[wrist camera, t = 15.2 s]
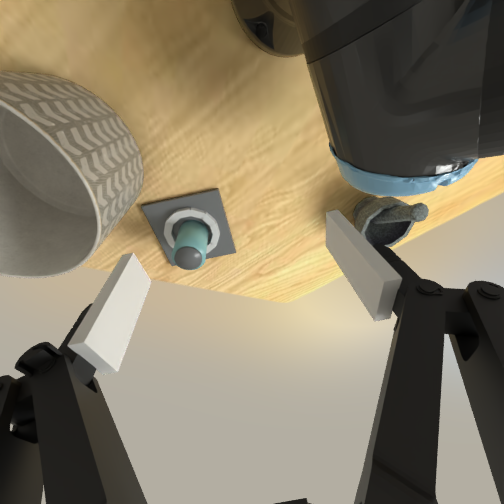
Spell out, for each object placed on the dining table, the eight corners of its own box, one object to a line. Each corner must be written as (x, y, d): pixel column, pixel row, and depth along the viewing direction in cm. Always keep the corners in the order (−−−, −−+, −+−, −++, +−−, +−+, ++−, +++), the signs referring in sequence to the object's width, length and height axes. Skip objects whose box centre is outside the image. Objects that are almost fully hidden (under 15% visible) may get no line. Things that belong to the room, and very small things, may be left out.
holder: (142, 204, 40) (139, 209, 39) (218, 188, 40) (218, 192, 39) (172, 263, 49) (171, 269, 47) (235, 250, 48) (236, 255, 47)
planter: (171, 144, 35) (133, 184, 21) (120, 228, 43) (65, 301, 28) (25, 33, 27) (-214, -34, 12) (-7, 161, 34) (-179, 216, 20)
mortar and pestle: (378, 232, 49) (416, 267, 40) (338, 230, 48) (367, 266, 38) (403, 181, 43) (456, 208, 33) (358, 178, 42) (399, 205, 32)
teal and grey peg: (175, 222, 42) (165, 249, 35) (204, 217, 42) (199, 242, 35) (184, 246, 45) (177, 274, 39) (211, 241, 45) (209, 269, 38)
